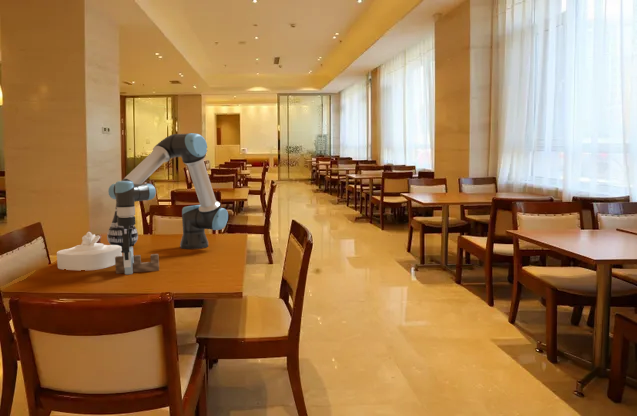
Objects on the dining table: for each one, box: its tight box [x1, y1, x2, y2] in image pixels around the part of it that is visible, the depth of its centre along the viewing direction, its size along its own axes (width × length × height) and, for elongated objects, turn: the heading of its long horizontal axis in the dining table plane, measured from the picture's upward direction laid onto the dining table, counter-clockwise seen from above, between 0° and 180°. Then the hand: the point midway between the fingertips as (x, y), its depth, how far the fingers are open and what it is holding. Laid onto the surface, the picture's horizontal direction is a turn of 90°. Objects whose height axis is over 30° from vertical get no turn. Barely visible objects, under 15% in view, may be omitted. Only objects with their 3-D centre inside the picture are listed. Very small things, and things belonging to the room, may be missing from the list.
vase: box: [106, 206, 139, 250], centre depth 289 cm, size 16×16×30 cm
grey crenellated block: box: [114, 253, 160, 274], centre depth 234 cm, size 18×3×7 cm, turn 105°
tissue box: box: [56, 231, 123, 271], centre depth 250 cm, size 25×25×16 cm
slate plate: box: [124, 246, 134, 275], centre depth 233 cm, size 10×3×10 cm, turn 15°
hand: (128, 264), depth 233 cm, fingers open, 13 cm apart
